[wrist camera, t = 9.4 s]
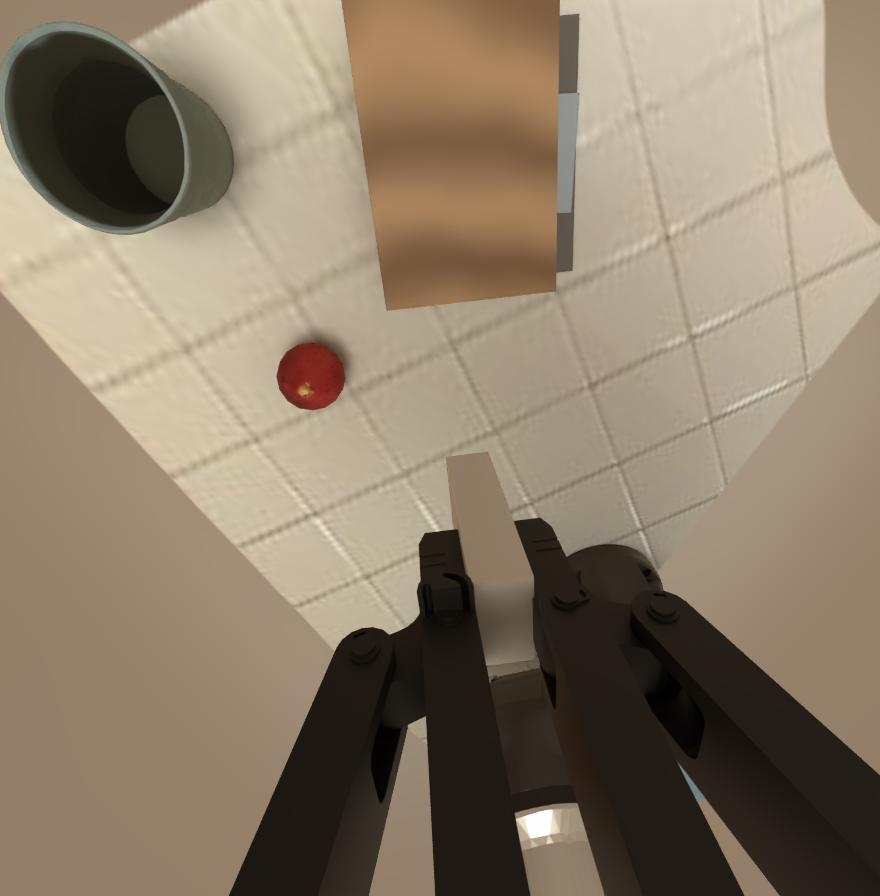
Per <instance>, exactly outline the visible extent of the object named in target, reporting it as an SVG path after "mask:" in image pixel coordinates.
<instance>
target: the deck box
mask: <svg viewBox="0 0 880 896" xmlns="http://www.w3.org/2000/svg"><path fill="white" fill-rule="evenodd" d="M578 106H579V93H566V94H558V175H557V213H571V207H572V192H573V178H574V163H575V149H576V134H577V120H578Z"/></svg>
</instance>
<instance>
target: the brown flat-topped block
mask: <svg viewBox="0 0 880 896" xmlns="http://www.w3.org/2000/svg"><path fill="white" fill-rule="evenodd" d="M341 1H342V8H343V14H344V21H345V28H346V35H347V42H348V49H349V56H350V62H351V69H352V76H353V83H354V90H355V97H356V104H357V110H358V117H359V124H360V131H361V138H362V145H363V152H364V159H365V165H366V172H367V179H368V186H369V193H370V200H371V207H372V213H373V220H374V227H375V234H376V241H377V248H378V255H379V261H380V268H381V275H382V282H383V289H384V296H385V303H386V310H387V311H389V310H397V309H406V308H415V307H423V306H432V305H441V304H449V303H458V302H467V301H475V300H484V299H492V298H501V297H510V296H518V295H527V294H536V293H544V292H553V291H556V257H557V175H558V93H559V11H560V0H341Z"/></svg>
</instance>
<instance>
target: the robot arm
mask: <svg viewBox="0 0 880 896" xmlns="http://www.w3.org/2000/svg"><path fill="white" fill-rule="evenodd" d="M446 462H447V471H448V481H449V490H450V500H451V510H452V519H453V526H454V530H447V531H438V532H430V533H425V534H424V536H423V538H422V540H421V541H420V543H419V557H420V576H421V582H420V583H419V585H418V589H417V596H418V603H419V609H420V614H419V616H418V617H417V618H416V620H415V621H414V622H413V623H411V624H410V625H409V626H408V627H406V628H404V629H402V630H400V631H398V632H395V633H393V634H390V635H389V634H388V633H386V632H385V631H384V630H382V629H378V628H373V627H371V628H361V629H359V630H356V631H354V632H351V633H350V634H349V635H347V636H346V637H345V638H344V639H342V641H341V642H340V644H339V645H338V647H337V648H336V650H335V653H334V655H333V657H332V659H331V662H330V664H329V666H328V669H327V671H326V673H325V676H324V678H323V680H322V683H321V685H320V687H319V690H318V692H317V694H316V697H315V699H314V701H313V703H312V706H311V708H310V710H309V712H308V715H307V717H306V719H305V722H304V724H303V726H302V729H301V731H300V733H299V736H298V738H297V740H296V742H295V745H294V747H293V749H292V752H291V754H290V756H289V759H288V761H287V763H286V765H285V768H284V770H283V772H282V775H281V777H280V779H279V782H278V784H277V786H276V788H275V791H274V793H273V795H272V798H271V800H270V802H269V805H268V807H267V809H266V812H265V814H264V816H263V818H262V821H261V823H260V825H259V828H258V830H257V832H256V835H255V837H254V839H253V841H252V844H251V846H250V848H249V851H248V853H247V855H246V857H245V860H244V862H243V864H242V867H241V869H240V871H239V874H238V876H237V878H236V881H235V883H234V885H233V888H232V890H231V892H230V894H229V896H369V892H370V887H371V883H372V879H373V874H374V870H375V866H376V862H377V858H378V853H379V849H380V845H381V840H382V836H383V831H384V827H385V823H386V819H387V815H388V810H389V805H390V802H391V797H392V793H393V789H394V785H395V780H396V776H397V772H398V767H399V763H400V759H401V754H402V750H403V746H404V742H405V737H406V733H407V729H408V724H410V723H412V722H415V721H417V720H419V719H421V718H423V717H425V716H426V725H427V745H428V764H429V782H430V802H431V821H432V839H433V840H432V841H433V860H434V879H435V896H744V894H743V892H742V890H741V888H740V886H739V884H738V882H737V880H736V878H735V876H734V874H733V872H732V870H731V868H730V866H729V864H728V862H727V860H726V858H725V856H724V854H723V852H722V850H721V848H720V846H719V844H718V842H717V840H716V838H715V836H714V834H713V832H712V830H711V828H710V826H709V824H708V822H707V820H706V818H705V816H704V814H703V812H702V810H701V808H700V806H699V804H698V802H700V801H702V800H704V799H705V798H706V800H707V801H708V802H709V804H710V805H711V806H712V808H713V809H714V810H715V811H716V813H717V814H718V815H719V817H720V818H721V819H722V821H723V822H724V823H725V825H726V826H727V827H728V829H729V830H730V831H731V832H732V834H733V835H734V836H735V838H736V839H737V840H738V842H739V843H740V844H741V846H742V847H743V848H744V850H745V851H746V852H747V853H748V855H749V856H750V857H751V859H752V860H753V861H754V862H755V864H756V865H757V867H758V868H759V869H760V870H761V872H762V873H763V874H764V875H765V877H766V878H767V880H768V881H769V882H770V883H771V885H772V886H773V887H774V889H775V890H776V891H777V893H778V894H779V895H780V896H880V775H879V774H878V773H877V772H875V771H874V770H873V769H872V768H871V767H870V766H869V765H868V764H867V763H866V762H864V761H863V760H862V759H861V758H860V757H859V756H857V754H856V753H854V752H853V751H852V750H851V749H850V748H849V747H848V746H847V745H845V744H844V743H843V742H842V741H841V740H840V739H839V738H838V737H837V736H835V735H834V734H833V733H832V732H831V731H830V730H829V729H827V727H825V726H824V725H823V724H822V723H821V722H820V721H819V720H818V719H816V718H815V717H814V716H813V715H812V714H811V713H810V712H808V710H806V709H805V708H804V707H803V706H802V705H801V704H800V703H798V702H797V701H796V700H795V699H794V698H793V697H792V696H791V695H790V694H789V693H787V692H786V691H785V690H784V689H783V688H782V687H781V686H780V685H779V684H777V683H776V682H775V681H774V680H773V679H772V678H771V677H770V676H768V675H767V674H766V673H765V672H764V671H763V670H762V669H761V668H759V667H758V666H757V665H756V664H755V663H754V662H753V661H752V660H750V659H749V658H748V657H747V656H746V655H745V654H744V653H743V652H742V651H741V650H739V649H738V648H737V647H736V646H735V645H734V644H733V643H732V642H731V641H729V640H728V639H727V638H726V637H725V636H724V635H723V634H722V633H721V632H719V631H718V630H717V629H716V628H715V627H714V626H713V625H712V624H710V623H709V622H708V621H707V620H706V619H705V618H704V617H703V616H702V615H700V614H699V613H698V612H697V611H696V610H695V609H694V608H693V607H692V606H690V605H689V604H688V603H687V602H686V601H684V600H683V599H681V598H680V597H678V596H677V595H674V594H671V593H668V592H666V591H664V590H663V586H662V582H661V580H660V578H659V575H658V574H657V572H656V571H655V569H654V568H653V566H652V565H651V563H650V562H649V561H648V559H647V558H646V557H645V556H643V555H642V554H641V553H639V552H637V551H635V550H633V549H631V548H627V547H623V546H616V545H604V546H597V547H592V548H588V549H585V550H582V551H580V552H577V553H575V554H573V555H571V556H570V557H568V558H567V557H566V555H565V553H564V551H563V550H562V547H561V545H560V543H559V541H558V540H557V537H556V534H555V532H554V530H553V528H552V527H551V526H550V525H549V524H548V523H546V522H545V521H544V520H542V519H541V518H535V519H526V520H518V521H513V518H512V516H511V513H510V510H509V507H508V505H507V502H506V499H505V496H504V494H503V491H502V488H501V486H500V483H499V480H498V477H497V475H496V472H495V469H494V466H493V464H492V461H491V458H490V456H489V453H488V452H483V453H475V454H467V455H459V456H450V457H446ZM535 648H536V652H537V655H538V658H539V661H540V668H537V669H532V670H528V671H523V672H518V673H513V674H509V675H504V676H499V677H497V676H492V677H490V678H489V677H488V672H487V666H491V665H499V664H507V663H515V662H522V661H530V660H535Z"/></svg>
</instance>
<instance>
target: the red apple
mask: <svg viewBox="0 0 880 896" xmlns="http://www.w3.org/2000/svg"><path fill="white" fill-rule="evenodd" d="M277 381H278V385H279V389H280V391H281V392H282V394H283V395H284V397H285V398H286V399H287V401H289V402H290V403H292V404H293V405H295V406H296V407H298V408H300V409H308V410H315V409H320V408H325V407H326V406H328V405H329V404H331V403H333V402H334V401H336V399H337V397H338V396H339V394H340V393H341V391H342V390H343V386H344V381H345V374H344V369H343V364H342V362H341V361H340V360H339V358H338V357H337V355H336V354H335V353H333V352H332V351H331V350H329V349H328V348H326V347H324V346H321V345H317V344H314V343H311V344H301V345H297V346H296V347H294V348H292V349H291V350H289V351H288V352H286V354H285V355H284V357H283V358H282V360H281V361H280V364H279V368H278V372H277Z"/></svg>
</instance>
